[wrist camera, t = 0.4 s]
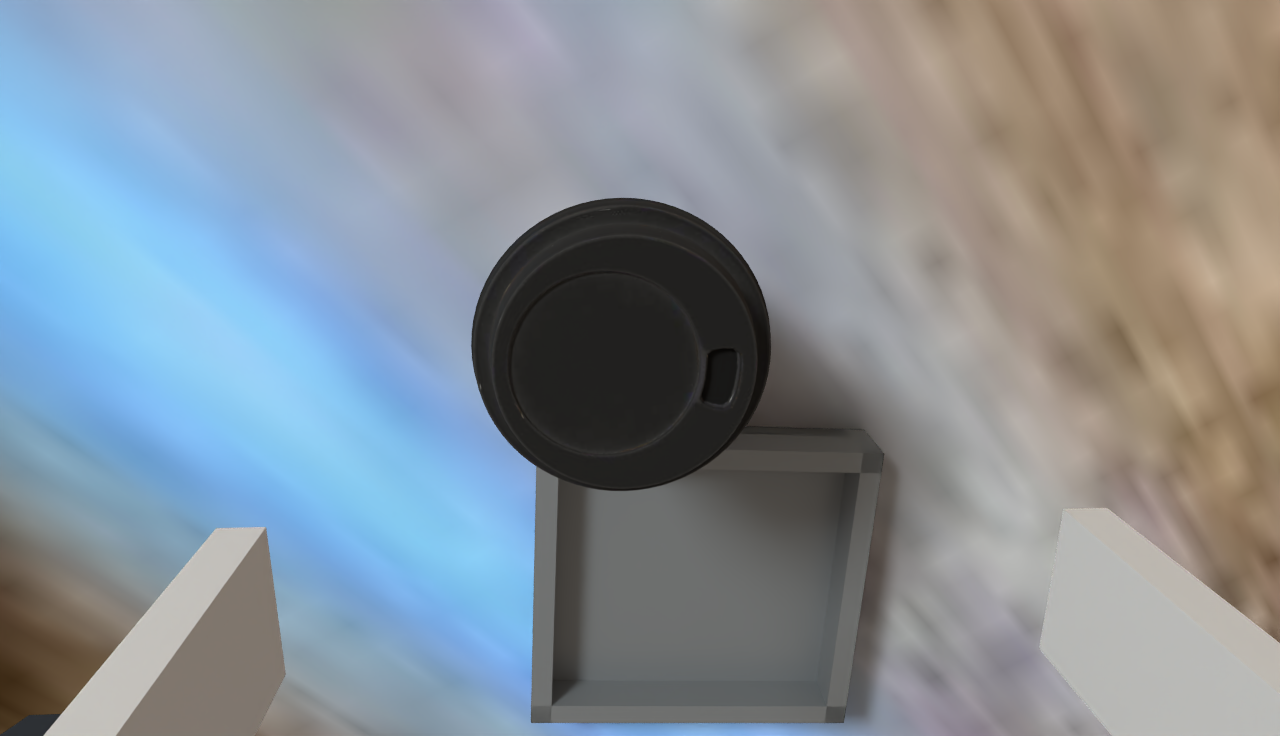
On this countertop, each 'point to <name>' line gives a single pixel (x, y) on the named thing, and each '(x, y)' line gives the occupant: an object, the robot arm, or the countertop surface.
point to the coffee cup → (621, 344)
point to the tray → (707, 586)
